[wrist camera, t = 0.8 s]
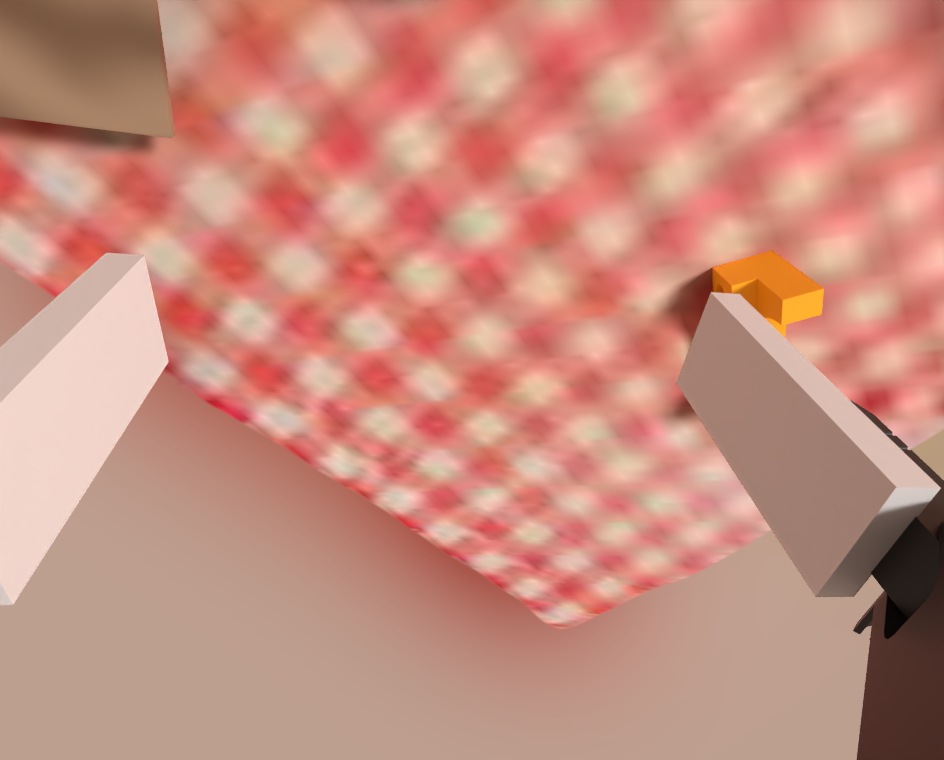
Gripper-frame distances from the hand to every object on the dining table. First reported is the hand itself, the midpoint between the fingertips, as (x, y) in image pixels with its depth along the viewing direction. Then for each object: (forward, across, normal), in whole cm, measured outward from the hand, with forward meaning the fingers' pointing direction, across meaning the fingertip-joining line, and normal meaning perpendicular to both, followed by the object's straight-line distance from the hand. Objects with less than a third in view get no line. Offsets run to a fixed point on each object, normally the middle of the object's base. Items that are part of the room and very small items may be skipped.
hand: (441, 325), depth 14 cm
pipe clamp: (+25, +26, -13) cm, 38 cm away
